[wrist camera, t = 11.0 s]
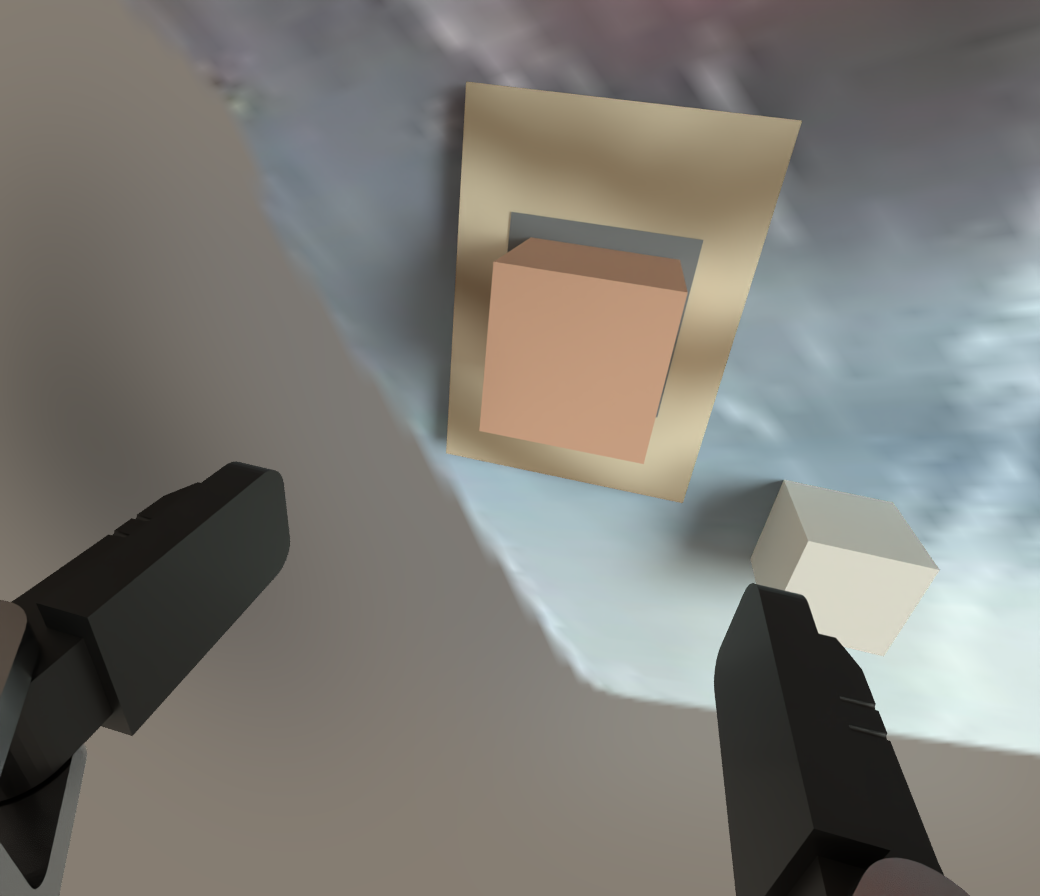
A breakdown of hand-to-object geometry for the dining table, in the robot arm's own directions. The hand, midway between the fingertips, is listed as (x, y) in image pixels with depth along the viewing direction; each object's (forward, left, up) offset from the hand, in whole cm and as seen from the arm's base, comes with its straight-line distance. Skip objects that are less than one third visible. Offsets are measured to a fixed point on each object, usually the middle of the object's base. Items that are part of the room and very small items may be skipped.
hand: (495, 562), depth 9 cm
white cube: (+9, +13, -18) cm, 24 cm away
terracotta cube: (0, 0, -16) cm, 16 cm away
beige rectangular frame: (0, 0, -18) cm, 18 cm away
